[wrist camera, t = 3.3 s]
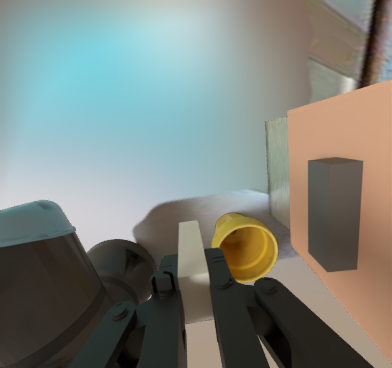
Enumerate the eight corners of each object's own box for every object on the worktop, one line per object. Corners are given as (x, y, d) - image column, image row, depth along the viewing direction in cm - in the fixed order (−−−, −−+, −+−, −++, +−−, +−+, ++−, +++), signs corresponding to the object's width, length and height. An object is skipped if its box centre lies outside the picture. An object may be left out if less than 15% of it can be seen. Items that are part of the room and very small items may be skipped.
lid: (299, 244, 30) (274, 246, 30) (297, 109, 25) (268, 113, 26) (463, 420, 11) (397, 424, 11) (555, 34, 7) (447, 50, 7)
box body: (269, 213, 41) (301, 239, 30) (265, 121, 37) (299, 113, 26) (354, 200, 41) (415, 221, 31) (359, 109, 37) (430, 96, 27)
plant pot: (264, 236, 42) (288, 265, 32) (220, 259, 42) (231, 294, 33) (243, 194, 39) (263, 212, 30) (197, 219, 40) (202, 244, 30)
